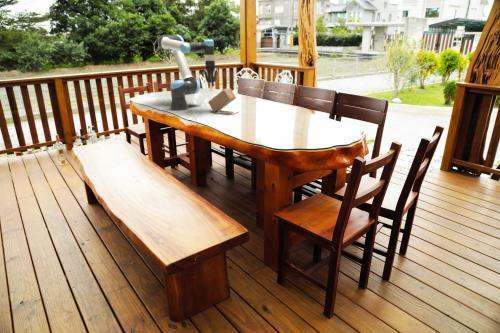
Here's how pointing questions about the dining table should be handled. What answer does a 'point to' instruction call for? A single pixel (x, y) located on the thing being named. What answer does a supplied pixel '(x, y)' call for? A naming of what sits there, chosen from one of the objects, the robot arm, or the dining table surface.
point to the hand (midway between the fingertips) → (211, 90)
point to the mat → (228, 111)
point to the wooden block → (222, 99)
